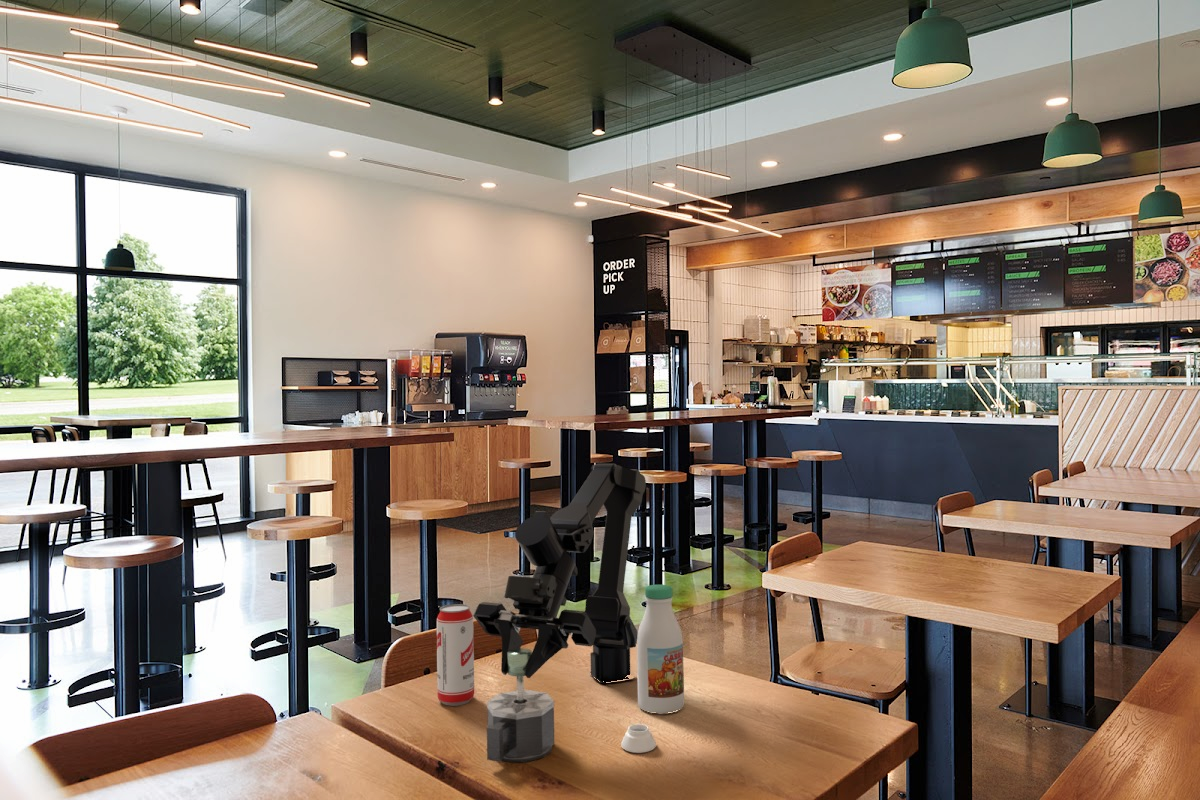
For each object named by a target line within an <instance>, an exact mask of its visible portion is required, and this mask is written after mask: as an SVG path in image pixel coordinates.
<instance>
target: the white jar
mask: <svg viewBox="0 0 1200 800" xmlns="http://www.w3.org/2000/svg"><path fill="white" fill-rule="evenodd" d="M620 746H621V747H622V749H623V750H625V751H626V752H630V753H632V754H644V753H648V752H651V751H653V750H654V749H656V746H657V742H656V740H655V738H654V736H653V734H652V732H651V731H650V729H649V726H648V725H645V724H642V723H641V724H640V723H635V724H631V725H628V727H627V730H626V732H625V734H624V736H623V738H622V741H621V742H620Z"/></svg>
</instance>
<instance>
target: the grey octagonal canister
mask: <svg viewBox="0 0 1200 800" xmlns="http://www.w3.org/2000/svg"><path fill="white" fill-rule="evenodd" d="M554 707H555V700H554V699H553V698H552V697H551V696H550V695H549V694H548V692H544V691H538V690H530V689H524V703H522V704H517V690H513V691H507V692H500V693H498V694H497V695H495V696H493V697H491V698H490V699H489V700H487V701H486V708H487V726H486V756H487V757H486V759H487V760H488V761H493V762H498V763H500V762H506V763H512V764H513V763H516V764H517V763H528V762H533V761H537V760H540V759H542V758H544V757H547V756H548V755H549V754H550V753H551V752H552V749H553V745H554V744H555V710H554V709H555V708H554Z"/></svg>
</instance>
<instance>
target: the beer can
mask: <svg viewBox="0 0 1200 800" xmlns="http://www.w3.org/2000/svg"><path fill="white" fill-rule="evenodd" d="M470 607H471V606H470V605H467V604H464V603H454V604H446V605H444V606H441V607H439V613H438V614H437V617H436V672H437V673H436V675H437V676H436V677H437V682H436V683H437V698H438V700H439V701H440V702H441V703H442V704H443V705H444V706H445V705H446V706H448V707H449V706H450V707H454V706H455V707H456V706H457V707H458V706H462V705H465V704H468V703H469V702H470V701H471V700H472V699H473V698H474V696H475V655H474V654H475V653H474V652H475V651H474V650H475V649H474V646H475V645H474V644H475V643H474V640H475V638H474V616H473V615H474V614H473V613H472V611H471V610H470Z"/></svg>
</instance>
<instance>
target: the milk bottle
mask: <svg viewBox="0 0 1200 800" xmlns="http://www.w3.org/2000/svg"><path fill="white" fill-rule="evenodd" d="M673 590H674V589H673V587H672V586H670V585H667V584H650V585H647V586H646V587H645V589H644V595H645V599H644V600H645V602H646V605H645V606H646V607H645V612H644V613H643V614H644V615H643V617H642V619H641V622H640V624H639V627H638V629H637V632H638V633H637V643H636V669H637V670H636V672H637V675H636V676H637V679H636V680H637V706H638V708H639V709H640V708H641V709H643V710H645V711H649V712H656V713H668V712H673V711H676V710H679V709H681V708H682V707H683V708H684V705H685V675H684V673H685V672H684V671H685V670H684V646H683V645H684V644H683V643H684V642H683V641H684V640H683V635H682V634H683V633H682V629H681V626H680V624H679V622H678V620H677V618H676V615H675V613H674V609H673V606H672V605H673V604H672V602H673V594H674V591H673ZM683 708H682V709H683ZM641 709H640V710H641ZM682 709H681V710H682ZM643 710H642V711H643ZM645 711H644V712H645Z"/></svg>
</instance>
